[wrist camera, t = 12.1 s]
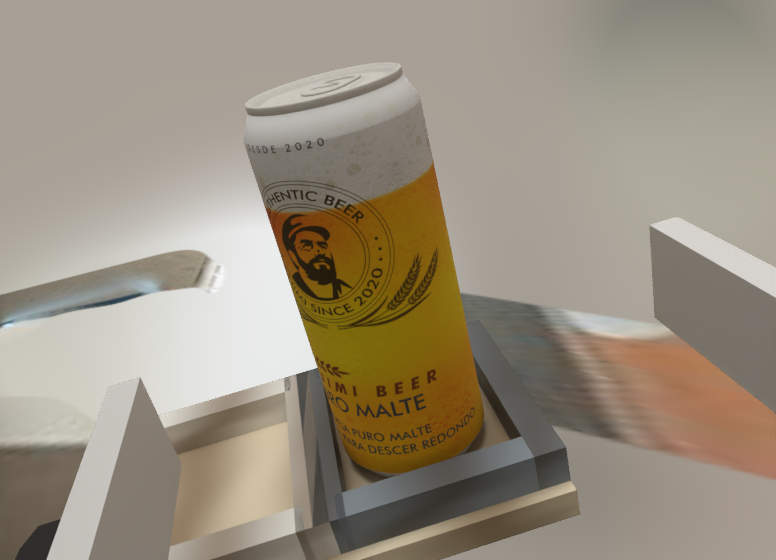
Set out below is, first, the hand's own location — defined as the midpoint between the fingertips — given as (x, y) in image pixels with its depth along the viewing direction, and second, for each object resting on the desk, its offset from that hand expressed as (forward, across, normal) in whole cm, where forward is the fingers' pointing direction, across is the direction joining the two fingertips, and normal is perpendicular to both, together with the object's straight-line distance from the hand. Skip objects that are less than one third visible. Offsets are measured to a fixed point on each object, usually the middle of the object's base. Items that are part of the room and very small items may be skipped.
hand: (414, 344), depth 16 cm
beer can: (+8, 0, -10) cm, 13 cm away
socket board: (+8, -4, -11) cm, 14 cm away
